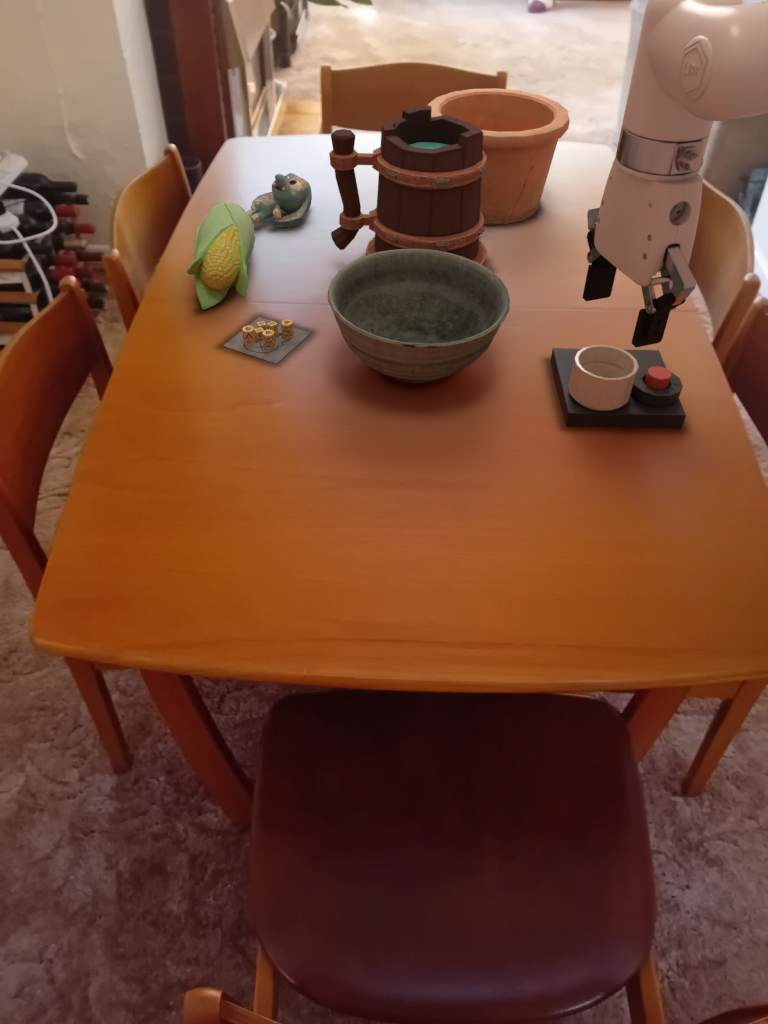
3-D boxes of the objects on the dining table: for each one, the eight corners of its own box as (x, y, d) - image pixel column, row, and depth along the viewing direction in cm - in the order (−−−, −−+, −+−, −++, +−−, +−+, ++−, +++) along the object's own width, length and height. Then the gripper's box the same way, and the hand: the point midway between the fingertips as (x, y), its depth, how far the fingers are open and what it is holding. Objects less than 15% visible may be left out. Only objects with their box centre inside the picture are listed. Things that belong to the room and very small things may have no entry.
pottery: (549, 179, 138) (563, 90, 128) (558, 236, 122) (575, 139, 112) (425, 173, 139) (430, 84, 129) (418, 229, 123) (423, 132, 113)
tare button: (664, 377, 90) (668, 366, 89) (670, 391, 88) (674, 379, 87) (642, 377, 90) (645, 365, 89) (647, 390, 88) (650, 379, 87)
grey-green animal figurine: (221, 184, 121) (281, 150, 125) (234, 225, 127) (291, 192, 131) (262, 206, 116) (324, 170, 120) (274, 249, 121) (332, 213, 126)
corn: (271, 210, 116) (258, 280, 102) (244, 252, 121) (229, 324, 107) (220, 178, 113) (200, 246, 99) (195, 222, 117) (172, 293, 103)
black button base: (655, 363, 98) (662, 338, 95) (682, 428, 88) (690, 403, 86) (550, 361, 98) (554, 336, 95) (565, 426, 88) (571, 401, 86)
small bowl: (608, 373, 93) (617, 340, 90) (640, 406, 88) (650, 373, 85) (557, 384, 91) (564, 350, 88) (586, 418, 87) (594, 384, 83)
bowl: (422, 302, 107) (426, 232, 100) (535, 371, 96) (549, 298, 89) (297, 355, 98) (291, 281, 91) (406, 439, 87) (409, 362, 80)
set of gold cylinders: (296, 334, 101) (295, 321, 100) (273, 353, 98) (272, 340, 97) (263, 324, 103) (262, 310, 102) (240, 342, 100) (238, 329, 98)
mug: (335, 238, 121) (330, 97, 107) (484, 240, 121) (498, 99, 107) (328, 299, 108) (322, 148, 94) (494, 301, 108) (513, 150, 94)
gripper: (758, 179, 66) (700, 356, 77) (643, 115, 77) (608, 277, 89) (681, 191, 64) (634, 370, 76) (575, 123, 76) (549, 287, 87)
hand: (620, 320), depth 82 cm, fingers open, 9 cm apart
